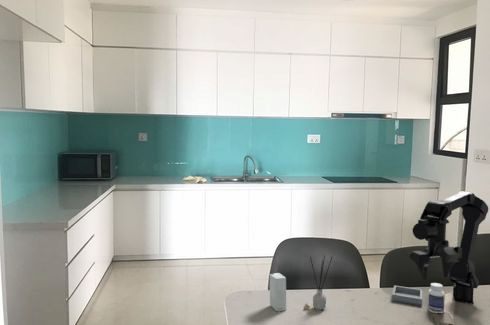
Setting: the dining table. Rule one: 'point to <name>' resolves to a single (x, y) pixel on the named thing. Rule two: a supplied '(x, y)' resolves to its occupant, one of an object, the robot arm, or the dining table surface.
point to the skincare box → (278, 292)
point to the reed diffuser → (319, 292)
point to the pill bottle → (436, 298)
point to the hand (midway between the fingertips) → (435, 278)
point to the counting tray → (407, 295)
